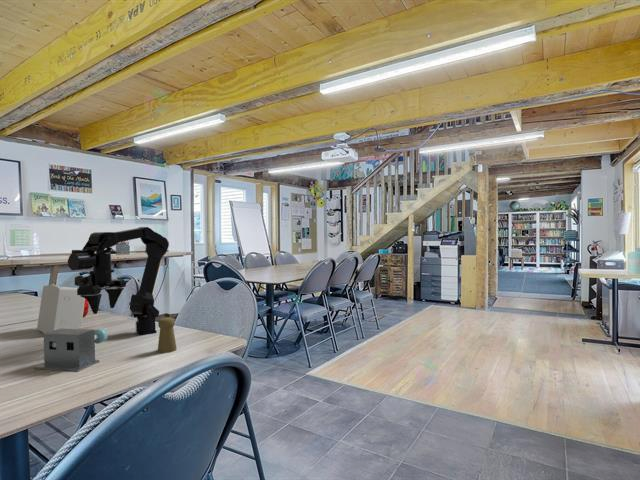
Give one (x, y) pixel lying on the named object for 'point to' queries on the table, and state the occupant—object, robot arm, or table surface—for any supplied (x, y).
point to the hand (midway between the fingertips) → (103, 310)
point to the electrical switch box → (61, 308)
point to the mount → (69, 350)
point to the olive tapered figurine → (166, 335)
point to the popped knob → (100, 335)
